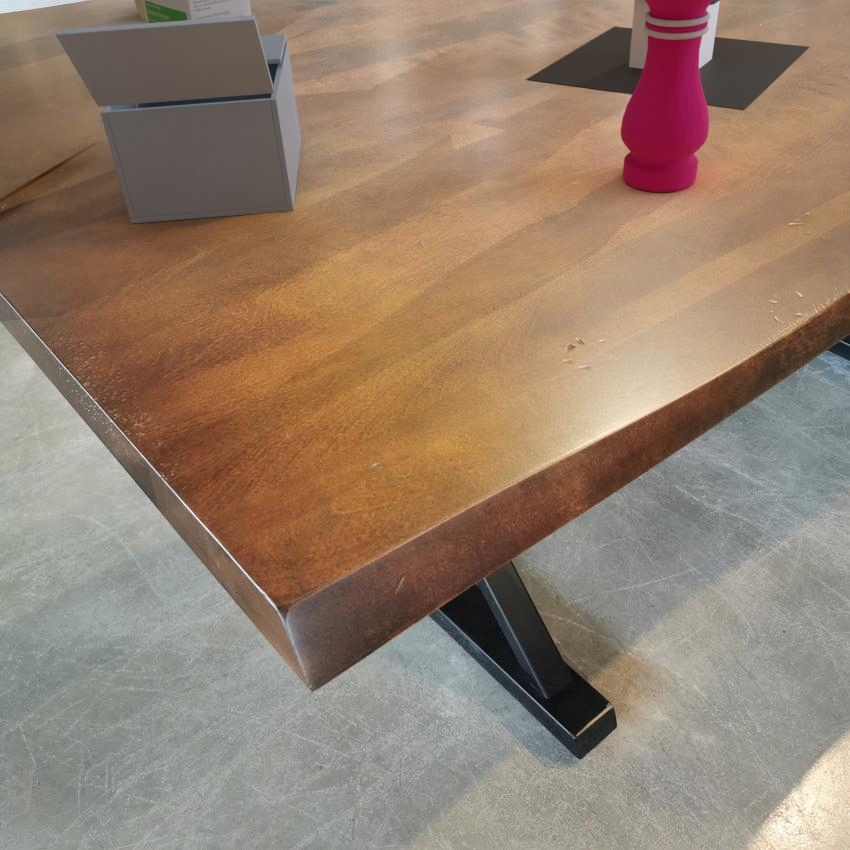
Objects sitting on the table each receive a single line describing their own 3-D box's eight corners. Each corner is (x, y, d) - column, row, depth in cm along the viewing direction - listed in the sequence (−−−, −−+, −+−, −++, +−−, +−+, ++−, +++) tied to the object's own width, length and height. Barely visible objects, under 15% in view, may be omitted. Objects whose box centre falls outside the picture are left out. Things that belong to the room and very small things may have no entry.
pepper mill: (665, 202, 73) (698, -69, 61) (599, 179, 78) (617, -79, 66) (718, 177, 77) (759, -85, 65) (652, 156, 81) (679, -93, 69)
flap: (274, 89, 70) (274, 93, 70) (98, 102, 70) (98, 107, 70) (254, 14, 62) (254, 19, 62) (55, 29, 62) (55, 34, 62)
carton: (293, 210, 76) (274, 89, 70) (131, 224, 76) (97, 102, 70) (301, 140, 90) (286, 33, 83) (163, 151, 89) (137, 44, 83)
